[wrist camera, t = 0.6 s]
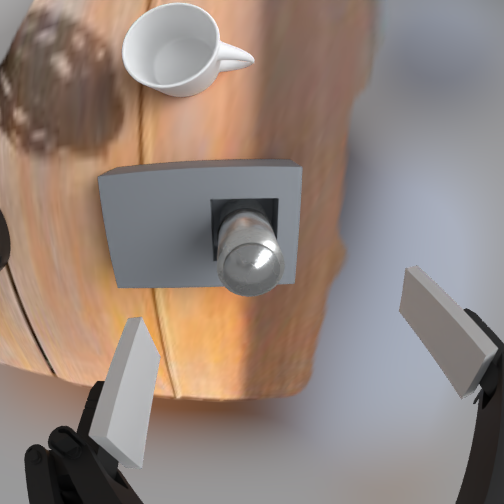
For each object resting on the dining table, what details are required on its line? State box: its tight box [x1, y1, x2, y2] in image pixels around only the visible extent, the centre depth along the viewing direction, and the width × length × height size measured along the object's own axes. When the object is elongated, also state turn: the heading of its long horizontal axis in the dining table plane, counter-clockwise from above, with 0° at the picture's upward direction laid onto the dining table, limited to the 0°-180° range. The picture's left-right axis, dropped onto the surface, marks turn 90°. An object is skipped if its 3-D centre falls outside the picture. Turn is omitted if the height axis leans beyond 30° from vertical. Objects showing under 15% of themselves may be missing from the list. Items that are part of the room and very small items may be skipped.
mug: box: [122, 3, 254, 97], centre depth 24 cm, size 9×12×11 cm
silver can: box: [217, 198, 285, 296], centre depth 29 cm, size 6×6×13 cm
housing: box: [98, 159, 302, 288], centre depth 34 cm, size 22×14×6 cm, turn 90°
